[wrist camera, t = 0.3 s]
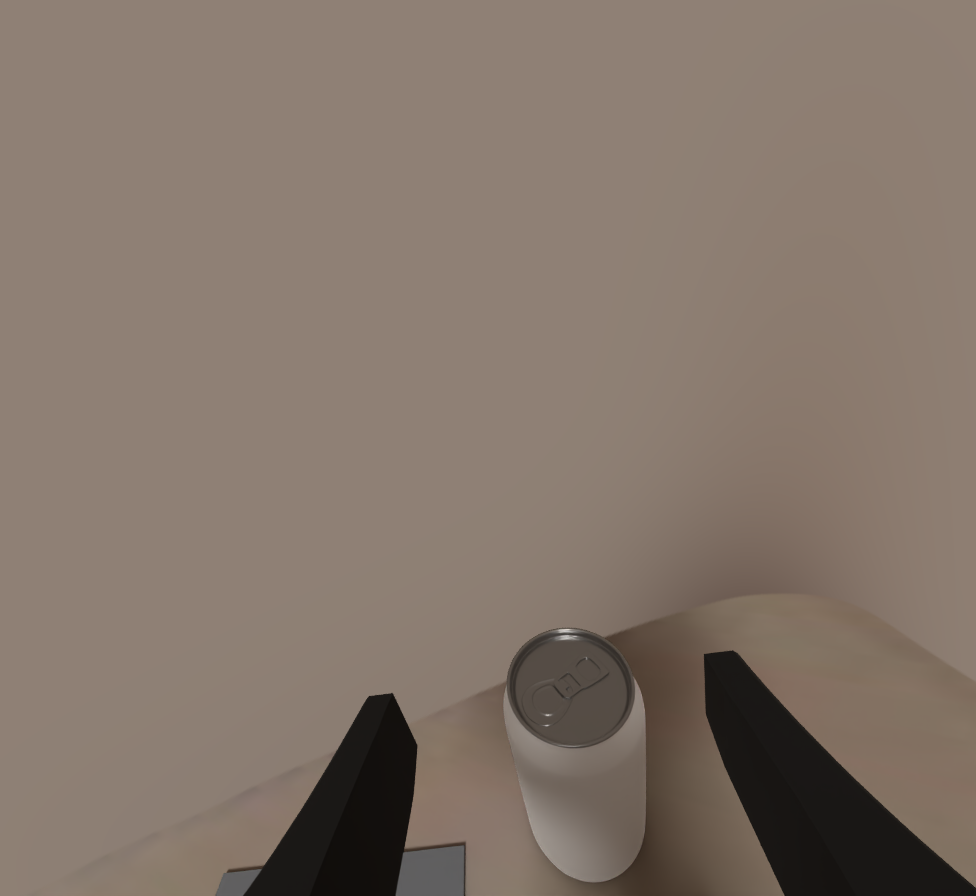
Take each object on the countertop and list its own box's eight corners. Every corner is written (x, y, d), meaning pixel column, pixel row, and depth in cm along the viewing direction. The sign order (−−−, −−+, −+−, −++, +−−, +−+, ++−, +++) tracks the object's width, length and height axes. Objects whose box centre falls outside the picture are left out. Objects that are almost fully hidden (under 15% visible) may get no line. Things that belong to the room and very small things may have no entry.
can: (507, 796, 27) (471, 669, 21) (588, 729, 30) (575, 599, 24) (581, 921, 22) (559, 797, 16) (671, 827, 24) (679, 691, 19)
